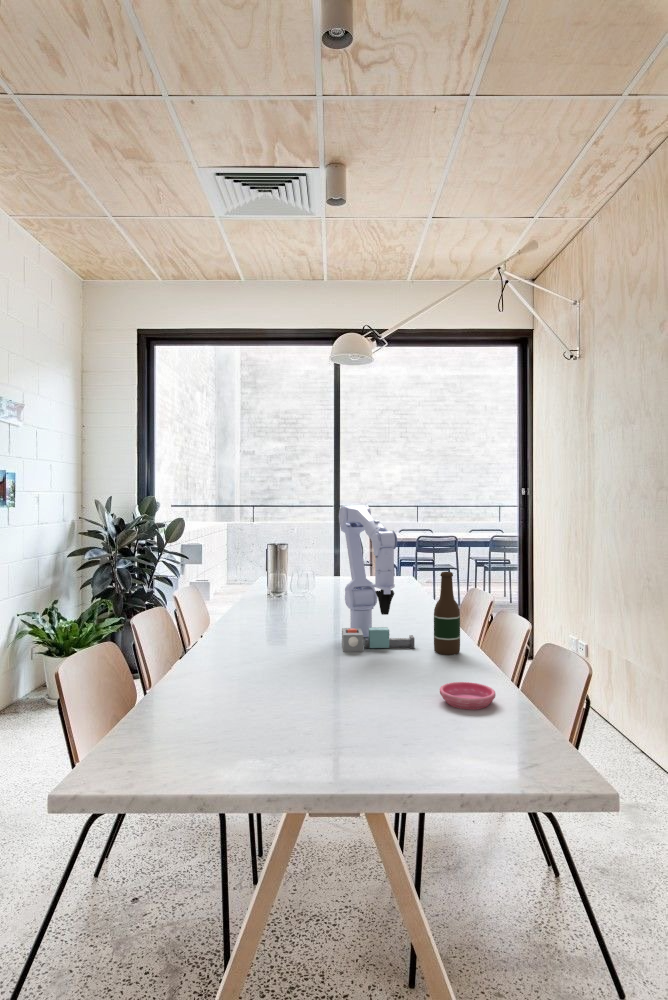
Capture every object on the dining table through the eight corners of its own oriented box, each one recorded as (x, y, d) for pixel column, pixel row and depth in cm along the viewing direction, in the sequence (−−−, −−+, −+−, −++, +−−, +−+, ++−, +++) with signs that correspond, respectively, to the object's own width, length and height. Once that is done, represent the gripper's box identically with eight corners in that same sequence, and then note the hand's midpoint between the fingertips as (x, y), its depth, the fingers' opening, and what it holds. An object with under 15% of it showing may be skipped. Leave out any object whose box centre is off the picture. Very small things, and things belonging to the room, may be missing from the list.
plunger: (347, 641, 199) (347, 628, 199) (356, 641, 199) (356, 628, 199) (348, 643, 196) (348, 630, 196) (357, 643, 196) (357, 630, 196)
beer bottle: (448, 656, 186) (448, 574, 186) (428, 651, 192) (428, 572, 192) (465, 652, 191) (465, 572, 191) (445, 647, 197) (444, 569, 197)
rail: (364, 645, 200) (364, 635, 200) (412, 645, 200) (412, 635, 200) (365, 648, 196) (365, 638, 196) (414, 648, 196) (414, 637, 196)
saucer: (497, 697, 149) (497, 684, 149) (492, 715, 137) (492, 700, 137) (444, 692, 153) (444, 679, 153) (435, 709, 141) (435, 694, 141)
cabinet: (341, 643, 202) (341, 628, 202) (360, 643, 203) (360, 627, 203) (343, 651, 192) (343, 635, 192) (363, 651, 192) (363, 635, 192)
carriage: (368, 644, 200) (368, 627, 200) (387, 644, 200) (387, 627, 200) (369, 648, 195) (369, 630, 195) (389, 647, 196) (389, 630, 196)
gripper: (369, 567, 204) (369, 610, 204) (373, 573, 189) (374, 618, 189) (391, 567, 204) (391, 609, 204) (397, 572, 189) (397, 618, 190)
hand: (384, 614), depth 197 cm, fingers closed
